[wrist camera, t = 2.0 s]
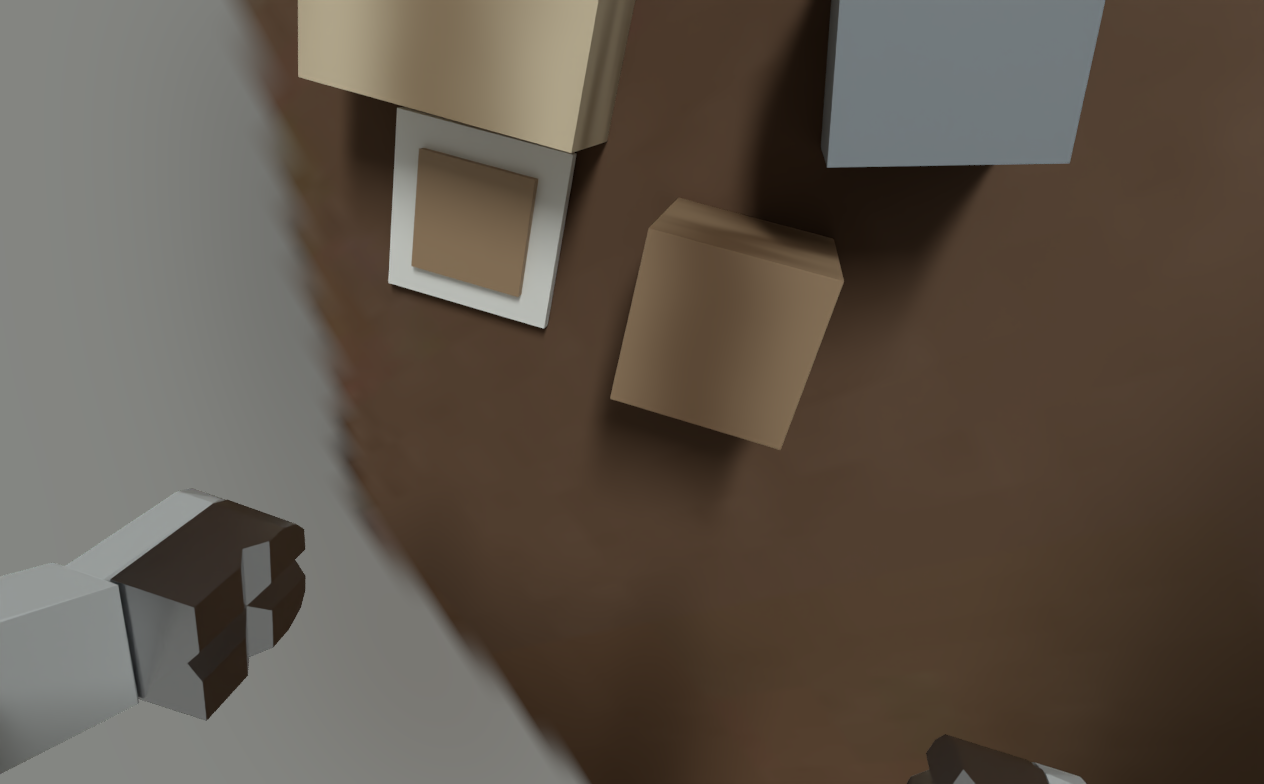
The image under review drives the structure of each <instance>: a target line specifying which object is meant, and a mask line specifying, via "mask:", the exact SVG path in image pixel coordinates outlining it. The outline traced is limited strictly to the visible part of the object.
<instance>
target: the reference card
mask: <svg viewBox="0 0 1264 784" xmlns="http://www.w3.org/2000/svg"><path fill="white" fill-rule="evenodd" d="M576 156H577V153H569V152H565V151H562V150H558V149H555V148H551V147H548V146H544V145H540V144H537V143H533V142H530V141H526V140H522V139H519V138H515V137H512V136H508V135H505V134H501V133H497V132H494V131H490V130H487V129H483V128H479V127H475V126H472V125H468V124H464V123H460V122H457V121H453V120H449V119H445V118H442V117H438V116H434V115H430V114H427V113H423V112H419V111H415V110H412V109H408V108H404V107H401V108H397V118H396V139H395V159H394V179H393V200H392V220H391V240H390V261H389V281H388V283H391V284H394V285H397V286H401V287H404V288H408V289H411V290H414V291H418V292H421V293H425V294H428V295H431V296H435V297H438V298H442V299H445V300H448V301H452V302H455V303H458V304H462V305H465V306H469V307H472V308H475V309H479V310H482V311H486V312H489V313H492V314H496V315H499V316H502V317H506V318H509V319H513V320H516V321H519V322H523V323H526V324H530V325H533V326H536V327H540V328H543V329H544V328H545V327H546V326H547V325H548V320H549V314H550V309H551V303H552V297H553V291H554V285H555V279H556V273H557V267H558V262H559V256H560V250H561V244H562V238H563V232H564V226H565V220H566V215H567V209H568V203H569V197H570V191H571V185H572V179H573V173H574V168H575V162H576Z"/></svg>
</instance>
